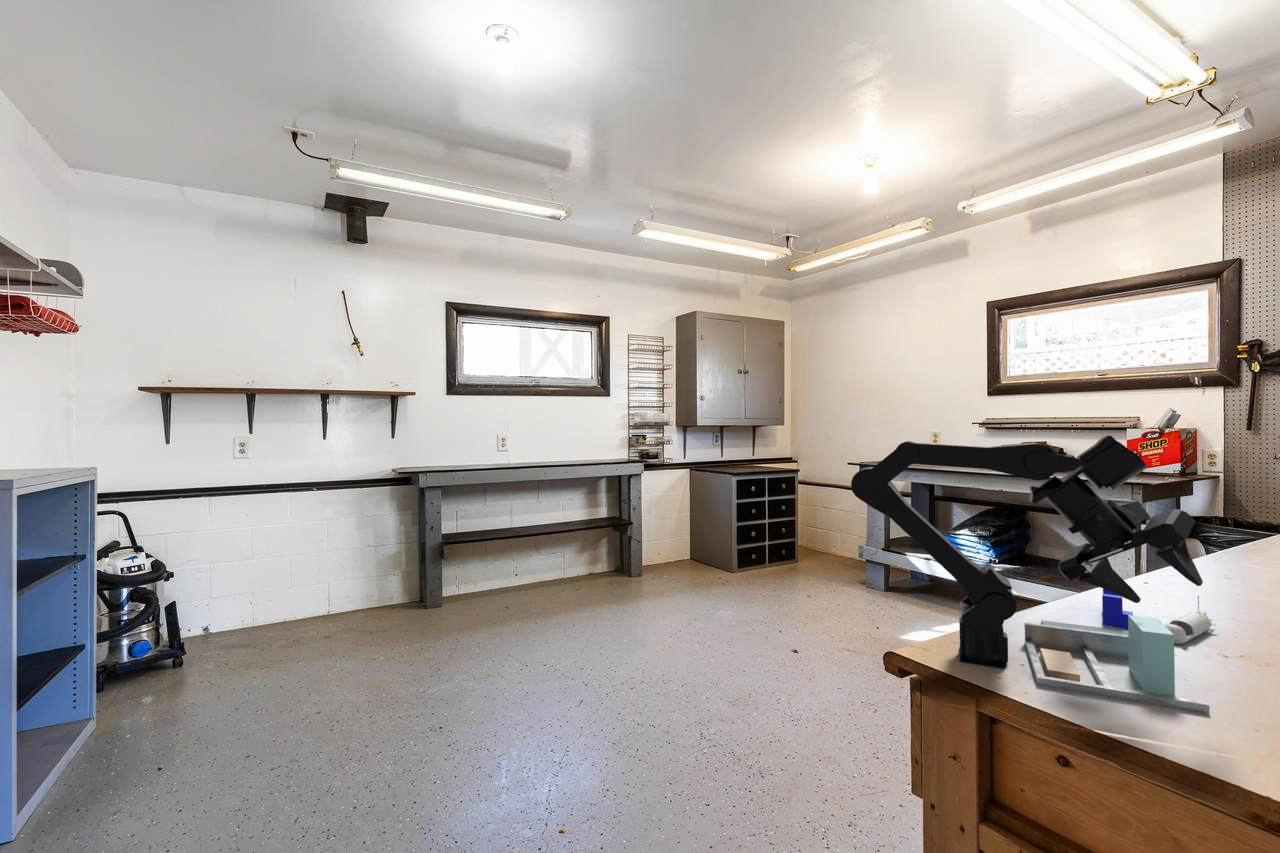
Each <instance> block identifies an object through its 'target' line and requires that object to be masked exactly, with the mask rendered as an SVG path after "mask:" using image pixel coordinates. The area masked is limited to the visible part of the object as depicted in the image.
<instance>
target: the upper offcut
mask: <svg viewBox="0 0 1280 853" xmlns="http://www.w3.org/2000/svg"><path fill="white" fill-rule="evenodd" d="M1039 648H1040V649H1039V650H1040V651H1039V652H1040V656H1041V659H1042V662H1043V665H1044V668H1045V671H1046V674H1047V677H1052V678H1058V679H1065V680H1071V681H1077V682H1080V677H1081V674H1080V672H1079V668H1077V665H1076V663H1075V661H1074V660H1073V657H1072V654H1071V653H1070V652H1069V651H1062V650H1055V649H1048V648H1041V647H1039ZM1044 668H1043V669H1044ZM1045 671H1044V672H1045ZM1046 674H1045V675H1046Z"/></svg>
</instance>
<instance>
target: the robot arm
mask: <svg viewBox="0 0 1280 853" xmlns="http://www.w3.org/2000/svg"><path fill="white" fill-rule="evenodd" d="M911 465H926V466H936V467H937V466H940V467H952V468H966V469H967V468H969V469H981V470H991V471H994V472H998V473H1003V474H1007V475H1010V476H1015V477H1019V478H1024V479H1028V480H1033V481H1044V480H1046V479H1047V480H1046V481H1045V482H1043V483H1041V484H1040V485H1032V484H1031V485H1029V491H1030V493H1029V497H1028V500H1029V502H1031V503H1032V504H1034V505H1037V504H1039V503H1040V502H1041V501H1042V500H1044V499H1045V500H1046V501H1047V502H1048V503H1049V504H1050V505H1051V506H1052V508H1054V509H1055V510H1056V511H1057V512H1058V513H1059V515H1061V516H1062V517H1063V518H1064V519H1065V520H1066V522H1068V524H1070V525H1069V527H1068V528H1067V530H1068V531H1070V533H1071V534H1073V535H1074V534H1076V533H1079V535H1081V536H1082V538H1084V539H1085V540H1086V543H1082V544H1081V545H1077V546H1076V547H1074V548H1071V549H1070V548H1069V549H1068V551H1067V552H1066V553H1065V555H1064V556H1063V557H1062V558H1061V559H1060V561H1059V562H1058V563H1057V564H1058V569H1059V572H1060V573H1061V575H1063V576H1064V578H1066V579H1067V580H1068V581H1071V580H1075V579H1076V580H1077V582H1078V583H1083V582H1086V583H1088V584H1091V585H1093V586H1095V587H1098V588H1101V589H1102V590H1103V589H1106V590H1108V591H1110V592H1113V593H1115V594H1117V595H1119V596H1121V597H1122V599H1123V598H1124V599H1126V600H1128V601H1131V602H1132V603H1135V604H1139V603H1140V601H1141V597H1140V596H1139V595H1138V594H1137V592H1136V591H1135V590H1134V589H1133V588H1132V587H1131V586H1130V585H1129V584H1128V583H1127V582H1126V581H1125V580H1124V579H1123V577H1121V576H1120V575H1119V574H1118V572H1117V571H1115V570H1114V568H1112V566H1111V565H1112V564H1111V563H1110V560H1109V557H1113V556H1115V555H1118V554H1121V553H1124V552H1126V551H1130V550H1132V549H1135V548H1138V547H1141V546H1143V545H1146V544H1148V546H1150V547H1151V548H1155V549H1156V548H1157V549H1158V550H1157V551H1156V555H1157V556H1158V557H1160V558H1161V560H1163V561H1164V562H1165V563H1166V564H1168V565H1169V566H1171V568H1172V569H1174V570H1176V571H1177V572H1178V573H1180V574H1181V575H1182V576H1183V577H1184V578H1186V580H1188V581H1189V582H1191V583H1192V584H1194V585H1195V586H1197V587H1201V586H1202V585H1203V582H1204V580H1203V579H1202V577H1201V574H1200V573H1199V570H1198V568H1197V566H1196V565H1195V562H1194V561H1193V559H1192V556H1191V554H1190V552H1189V548H1188V545H1187V539H1188V537H1189V536H1190V533H1191V532H1192V528H1193V527H1194V525H1195V524H1196V522H1197V521H1196V520H1195V519H1194V518H1193V517H1192V516H1191V515H1190V514H1189V513H1188V512H1187V511H1184V510H1181V509H1177V508H1172V509H1170V510H1168V511H1165V512H1162V513H1160V514H1157V515H1154V516H1152V517H1151V516H1150V514H1149V513H1148V511H1147V510H1146V508H1145V507H1144V506H1143V505H1142V503H1141V502H1140V500H1135V501H1131V502H1128V503H1124V504H1122V505H1118V504H1117V503H1116V502H1115V501H1113V500H1111V499H1107V500H1105V501H1104V499H1103V498H1102V497H1101V496H1099V495H1098V494H1097V493H1096V492H1095V491H1094V490H1093V489H1092V488H1091V487H1090V486H1089V485H1088V484H1087V483H1086V482H1085V481H1084V480H1083V479H1082V478H1081V476H1080V475H1082V476H1083V477H1084V478H1085V479H1086V480H1087V481H1088V482H1089V483H1091V485H1093V486H1094V487H1095V488H1096V489H1098V490H1102V489H1103V488H1105V489H1109V490H1110V491H1113V490H1115V489H1117V488H1118V487H1120V486H1121V485H1123V484H1124V483H1126V482H1128V481H1129V480H1130V479H1132V478H1134V477H1136V476H1137V475H1138V474H1140V473H1141V472H1143V471H1145V470H1146V469H1148V465H1147V464H1146V462H1145V461H1144V459H1143V458H1141V456H1139V455H1138V453H1137V452H1135V451H1134V450H1131V449H1129V448H1128V447H1127V446H1126V445H1124V444H1123V443H1121V442H1119V441H1118V440H1117V439H1115V438H1114V437H1113V436H1112V435H1111V434H1110V435H1107V434H1105V435H1104V436H1103V437H1101V438H1100V439H1098V440H1097V442H1095V443H1094V444H1093V445H1092V446H1090V447H1089V448H1087V449H1086V450H1084V451H1083V452H1082V453H1080V454H1079V455H1077V456H1074V454H1069V453H1066V454H1065V455H1064V454H1059V453H1057V452H1056V451H1055V450H1054V449H1053V448H1051V447H1050V446H1049V445H1046V444H1042V443H1038V442H1024V443H1013V444H1005V445H996V446H975V445H959V444H941V443H922V442H914V441H910V440H907V441H904V442H900V444H898V445H897V447H896V449H894V450H893V451H892V452H890V453H889V454H888V455H887V456H885V458H883V459H882V460H880V461H879V462H878V463H877V464H876V465H874V466H866V467H863V468H862V469H860V470H858V471H857V472H856V473H854V475H853V477H852V478H851V481H850V483H851V484H850V487H851V492H852V494H854V496H855V497H856V498H858V499H859V500H860V501H861V502H863V503H865V505H867V506H869V507H870V508H872V509H873V510H876V511H877V512H879V513H881V514H883V515H884V516H886V517H888V518H889V519H891V521H893V522H894V523H895V524H896V525H897V526H898V527H899V528H900V529H901V530H903V531H904V532H905V533H906V535H908V536H909V537H910V538H911V539H912V540H913V541H914V542H915V543H916V544H917V545H918V546H920V547H921V548H922V549H923V550H924V551H925V552H926V553H927V554H928V555H929V556H931V557H932V559H934V560H935V562H937V563H938V564H939V565H940V566H941V567H942V568H943V569H945V571H946V572H948V574H950V575H951V576H952V577H953V578H954V580H955V581H956V582H957V584H958V585H959V586H960V588H961V589H962V591H963V592H964V594H965V595H966V597H964V598H963V599H962V600H960V602H959V604H960V605H959V606H960V614H961V617H959V621H958V622H959V623H958V624H959V648H958V654H959V655H958V661H959V662H960V663H965V664H971V665H976V666H982V667H989V668H995V669H1001V670H1005V669H1006V663H1008V662H1009V638H1008V634H1007V633H1006V632H1005V631H1004V623H1005V621H1007V620H1009V619H1010V618H1012V617H1013V616H1014V615H1015V614H1016V611H1017V608H1018V606H1017V604H1018V603H1017V599H1016V597H1015V595H1014V592H1013V591H1012V589H1013V586H1012V585H1011V583H1010V580H1009V577H1006V576H1005V575H1002V574H1000V573H999V572H998V571H997V570H996V569H995V568H994V566H993V565H992V564H991V563H990V561H986V562H985V564H984V565H980V564H978V563H976V562H975V561H973V560H971V559H970V558H969V557H968V556H966V555H965V554H964V553H963V552H962V551H961V550H960V549H959V548H958V547H957V546H955V545H954V544H953V543H952V542H951V541H950V540H949V539H948V538H947V537H945V536H944V535H943V533H942V532H940V531H939V529H937V528H936V527H935V526H933V525H932V524H931V523H930V522H929V521H928V520H927V519H926V518H925V517H924V516H922V515H921V514H920V513H919V512H918V511H917V510H916V509H915V508H914V507H913V506H912V505H910V504H909V503H908V502H907V501H906V499H905V498H904V497H903V495H902V494H901V492H900V491H899V489H898V488H897V487H896V485H895V484H894V483H893V482H892V480H894V479H895V478H896V477H898V476H899V475H900V474H901V473H902V472H904V471H905V470H907V469H908V467H910V466H911ZM1068 472H1069V473H1068ZM1057 473H1068V474H1066V475H1064V476H1063V477H1062V476H1061V477H1060V478H1059V477H1057V475H1055V474H1057ZM1053 475H1054V476H1053ZM1142 522H1147V524H1146V525H1145V527H1144V528H1143V529H1140V530H1137V531H1136V530H1135V529H1137V528H1139V527H1140V526H1141V525H1142V524H1141V523H1142ZM1087 542H1088V543H1087Z"/></svg>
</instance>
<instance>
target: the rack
mask: <svg viewBox="0 0 1280 853" xmlns="http://www.w3.org/2000/svg"><path fill="white" fill-rule="evenodd" d="M1023 623H1024V627H1023V628H1024V645H1025V649H1026V652H1027V655H1028V658H1029V662H1030V665H1031V668H1032V673H1033V674H1034V678H1035V681H1036V685H1037V686H1038V687H1040V688H1041V687H1042V688H1049V689H1055V690H1060V691H1064V692H1065V691H1066V692H1073V693H1078V694H1085V695H1089V696H1096V697H1102V698H1109V699H1115V700H1120V701H1127V702H1131V703H1138V704H1145V705H1150V706H1157V707H1162V708H1169V709H1175V710H1181V711H1187V712H1193V713H1199V714H1205V715H1210V705H1209V703H1208V702H1207V701H1202V700H1196V699H1188V698H1182V697H1179V696H1178V697H1176V696H1172V695H1166V694H1160V693H1153V692H1151V693H1150V692H1147V691H1139V690H1135V689H1134V690H1133V689H1128V688H1127V689H1126V688H1119V687H1114V686H1113V685H1112V684H1111V682H1110V680H1109V678H1108V677H1107V675H1106V674H1105V672H1104V670H1103V668H1102V666H1101V664H1100V663H1099V661H1098V660H1097V658H1096V657H1095V656H1097V657H1098V656H1099V657H1107V658H1114V659H1121V660H1128V661H1129V637H1128V635H1121V634H1113V633H1105V632H1097V631H1089V630H1081V629H1073V628H1065V627H1057V626H1049V625H1042V623H1041V624H1039V623H1033V622H1031V623H1030V622H1023ZM1036 648H1043V649H1049V650H1056V651H1062V652H1069V653H1070V652H1072V653H1079V654H1082V656H1083V659H1084V660H1085V662H1086V664H1087V665H1088V667H1089V670H1090V671H1091V673H1092V675H1093V677H1094V679H1095V681H1096V682H1097V684H1094V683H1089V682H1084V681H1083V682H1077V681H1071V680H1065V679H1058V678H1052V677H1046V674H1045V672H1044V669H1043V666H1042V663H1041V660H1040V657H1039V655H1038V652H1037V650H1036Z"/></svg>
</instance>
